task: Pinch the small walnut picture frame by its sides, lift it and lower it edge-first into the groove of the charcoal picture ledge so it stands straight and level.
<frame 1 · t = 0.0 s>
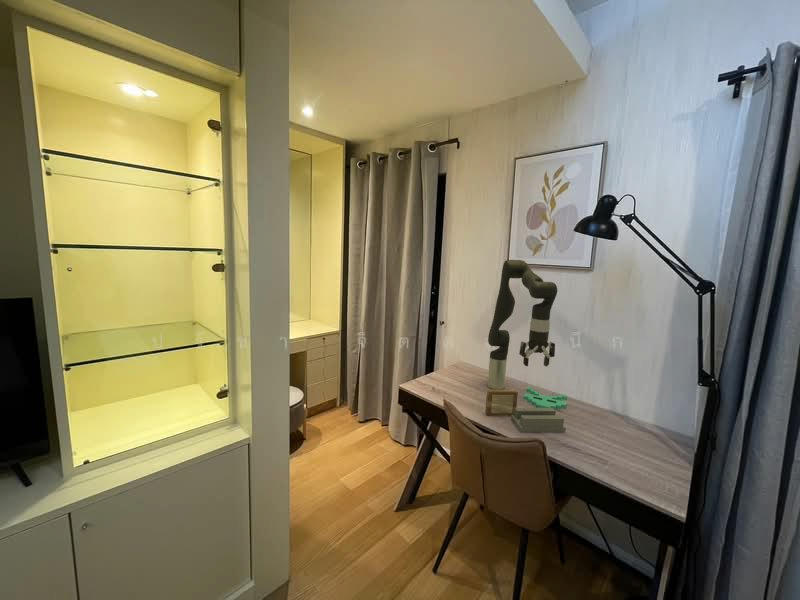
hand: (535, 365, 145), 29 cm above the table, tool pointing down, fingers open, 8 cm apart
picture ledge: (537, 425, 153), on the table
walnut frame: (500, 414, 162), on the table
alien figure: (544, 402, 177), on the table
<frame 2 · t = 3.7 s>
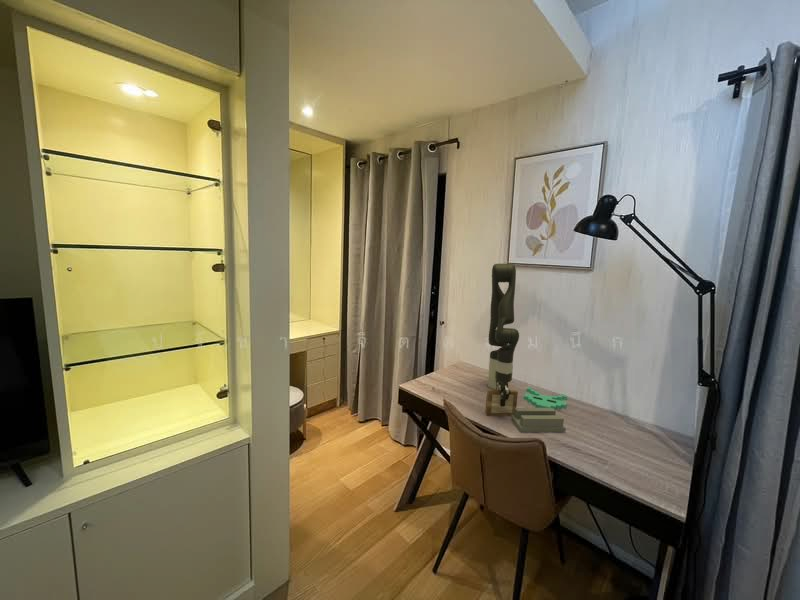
hand: (501, 404, 161), 5 cm above the table, tool pointing down, fingers closed on walnut frame, 2 cm apart
walnut frame: (500, 414, 162), on the table, touching gripper
everything else where it was.
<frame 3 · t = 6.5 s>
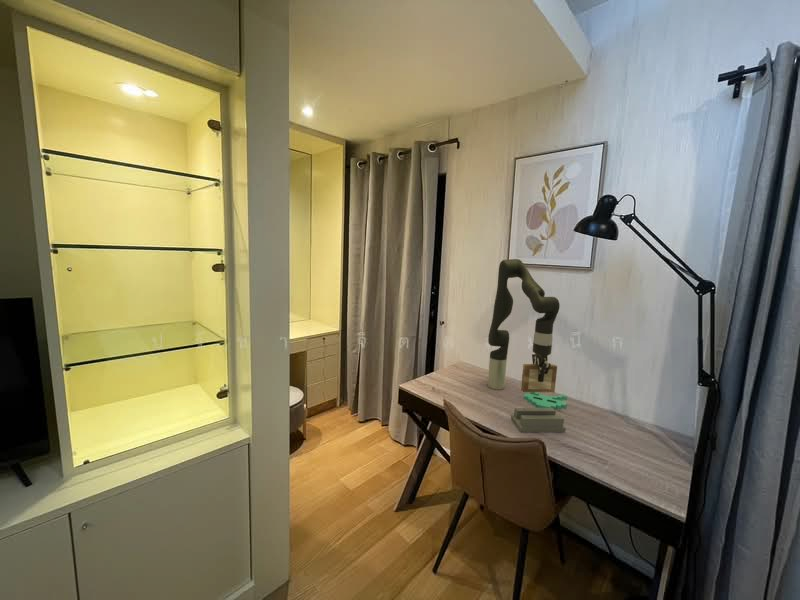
hand: (539, 380, 149), 22 cm above the table, tool pointing down, fingers closed on walnut frame, 2 cm apart
walnut frame: (537, 391, 150), point 16 cm above the table, touching gripper
everything else where it was.
when the fingers open (8 cm above the table, at t = 9.3 s): walnut frame stays where it is, resting on picture ledge.
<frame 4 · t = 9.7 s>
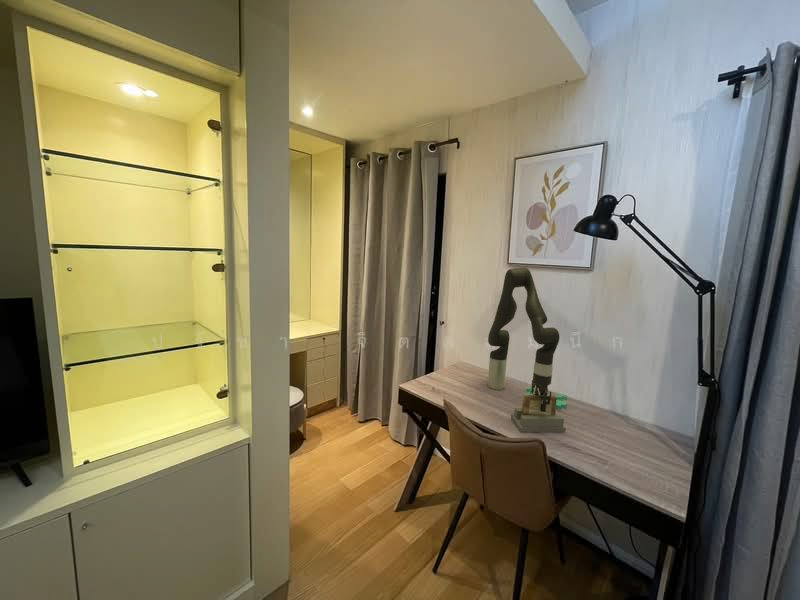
hand: (539, 407, 151), 9 cm above the table, tool pointing down, fingers open, 6 cm apart
walnut frame: (537, 421, 152), point 2 cm above the table, touching picture ledge
everything else where it was.
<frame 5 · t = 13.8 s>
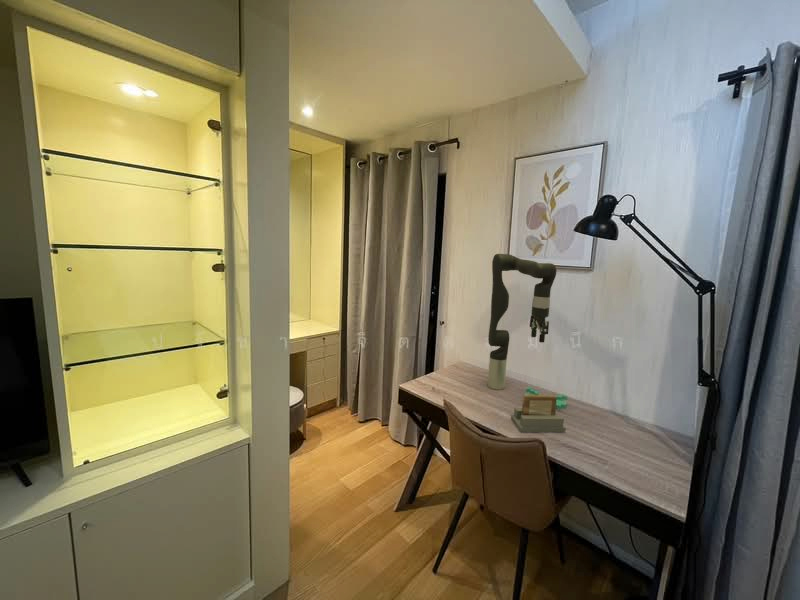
hand: (537, 339, 161), 36 cm above the table, tool pointing down, fingers open, 8 cm apart
nothing on the table moved.
at the end: walnut frame 0.2 cm off-centre on the picture ledge, point 2.0 cm above the picture ledge's base; walnut frame tilted 0°; the gripper is holding nothing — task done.
